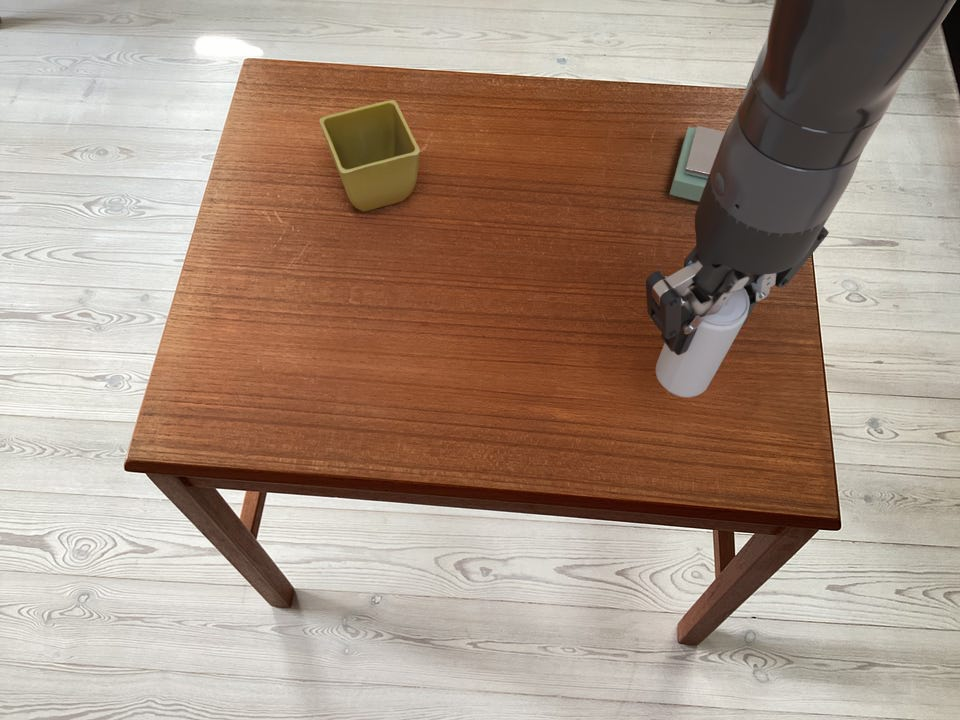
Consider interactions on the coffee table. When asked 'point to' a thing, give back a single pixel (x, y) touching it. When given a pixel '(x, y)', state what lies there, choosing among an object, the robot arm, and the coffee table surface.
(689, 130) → the scale
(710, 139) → the scale pan
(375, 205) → the flower pot
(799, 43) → the robot arm
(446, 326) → the coffee table surface
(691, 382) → the beverage can
